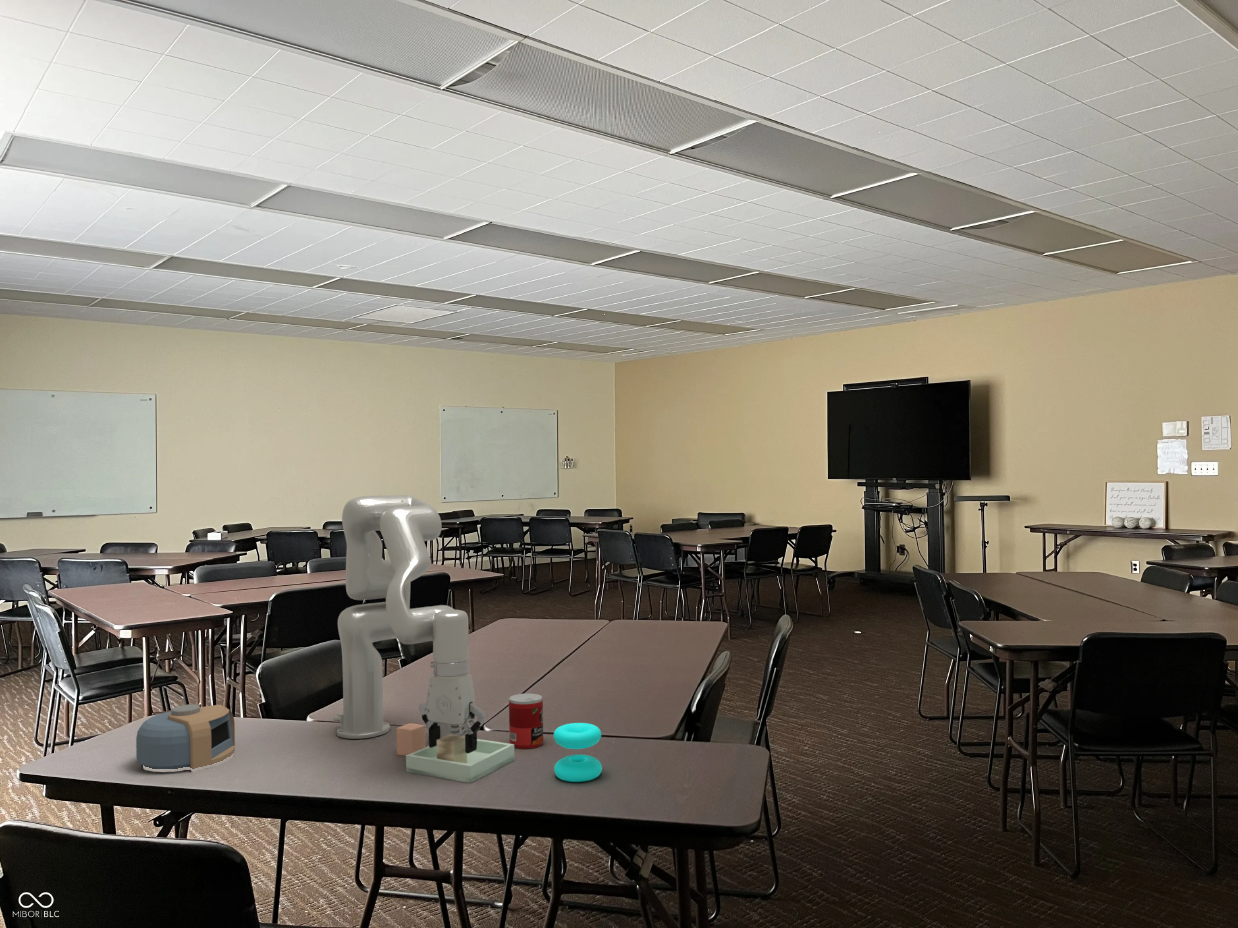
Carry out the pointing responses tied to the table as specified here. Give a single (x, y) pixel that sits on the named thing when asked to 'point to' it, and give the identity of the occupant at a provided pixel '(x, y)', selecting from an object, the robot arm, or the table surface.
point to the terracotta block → (410, 738)
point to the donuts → (578, 765)
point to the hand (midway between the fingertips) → (452, 748)
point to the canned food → (526, 720)
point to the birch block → (452, 748)
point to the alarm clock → (186, 737)
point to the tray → (477, 766)
